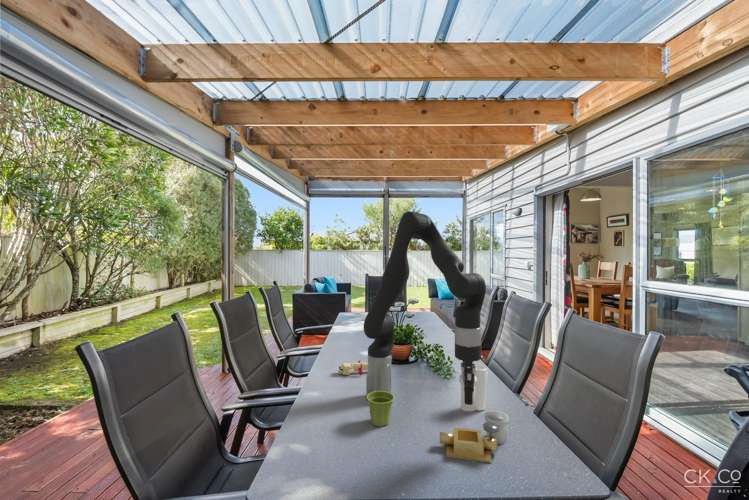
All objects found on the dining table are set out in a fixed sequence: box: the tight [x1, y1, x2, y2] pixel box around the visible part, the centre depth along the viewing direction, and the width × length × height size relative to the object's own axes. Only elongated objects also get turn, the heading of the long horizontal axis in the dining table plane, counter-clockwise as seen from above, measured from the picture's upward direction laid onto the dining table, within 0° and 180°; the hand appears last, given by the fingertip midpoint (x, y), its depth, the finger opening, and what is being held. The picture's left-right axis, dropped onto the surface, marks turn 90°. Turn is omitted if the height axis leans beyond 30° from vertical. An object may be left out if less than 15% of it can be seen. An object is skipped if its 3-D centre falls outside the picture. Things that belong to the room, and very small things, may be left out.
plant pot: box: [366, 391, 395, 427], centre depth 115 cm, size 9×9×9 cm
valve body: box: [439, 422, 499, 464], centre depth 99 cm, size 17×10×8 cm, turn 78°
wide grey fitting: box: [483, 410, 510, 445], centre depth 105 cm, size 7×7×7 cm
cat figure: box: [337, 359, 368, 377], centre depth 161 cm, size 10×9×25 cm
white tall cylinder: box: [474, 363, 488, 411], centre depth 125 cm, size 7×7×15 cm
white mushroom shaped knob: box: [459, 374, 477, 412], centre depth 99 cm, size 5×5×9 cm
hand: (468, 400), depth 99 cm, fingers closed on white mushroom shaped knob, 4 cm apart
